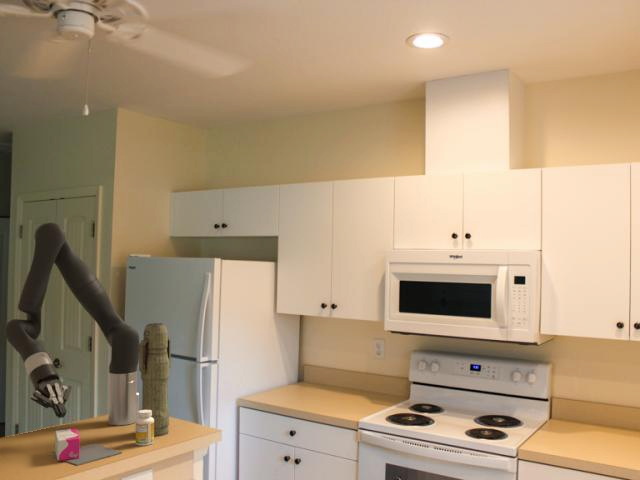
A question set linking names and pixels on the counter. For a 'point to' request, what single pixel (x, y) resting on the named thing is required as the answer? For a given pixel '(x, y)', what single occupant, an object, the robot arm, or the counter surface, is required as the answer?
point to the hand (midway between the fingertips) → (62, 416)
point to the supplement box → (67, 444)
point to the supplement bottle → (144, 428)
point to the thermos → (155, 374)
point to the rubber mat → (91, 454)
